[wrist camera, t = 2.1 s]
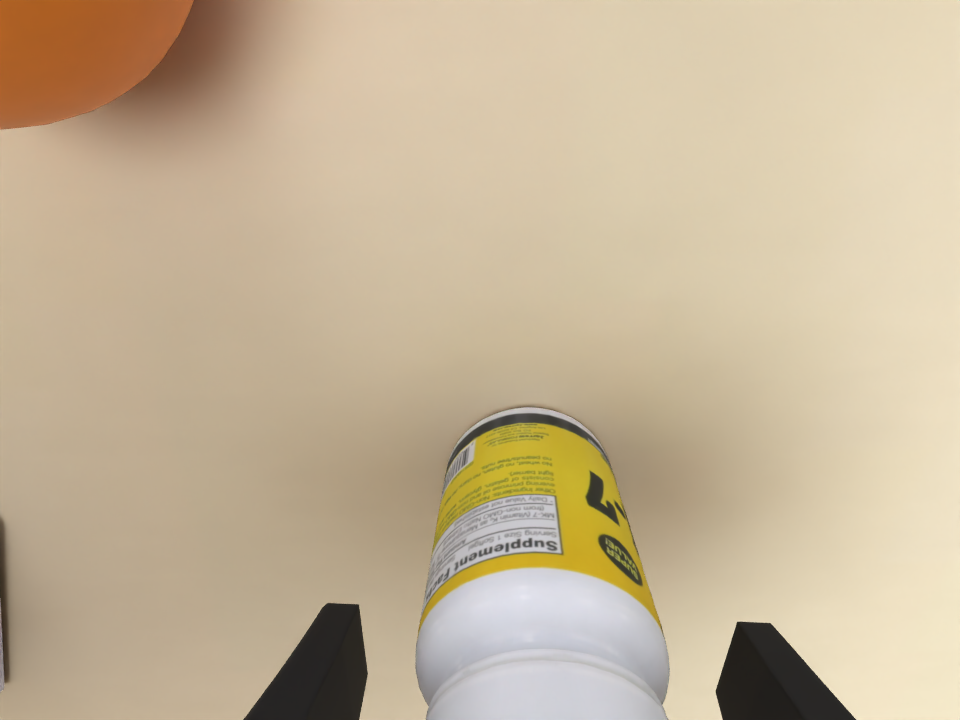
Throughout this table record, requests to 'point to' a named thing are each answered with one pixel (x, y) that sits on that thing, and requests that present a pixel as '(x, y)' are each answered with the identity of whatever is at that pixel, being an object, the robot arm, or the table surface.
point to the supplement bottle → (537, 583)
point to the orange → (78, 53)
